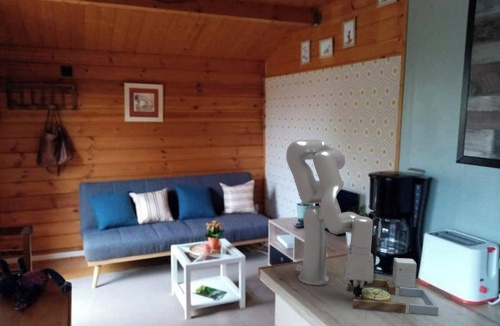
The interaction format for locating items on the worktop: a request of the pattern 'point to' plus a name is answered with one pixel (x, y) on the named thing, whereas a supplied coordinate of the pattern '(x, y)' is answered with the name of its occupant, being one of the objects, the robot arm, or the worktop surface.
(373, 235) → the portable speaker
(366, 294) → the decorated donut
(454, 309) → the worktop surface
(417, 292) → the frame
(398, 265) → the small box
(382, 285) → the low maze walls
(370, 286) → the mat
